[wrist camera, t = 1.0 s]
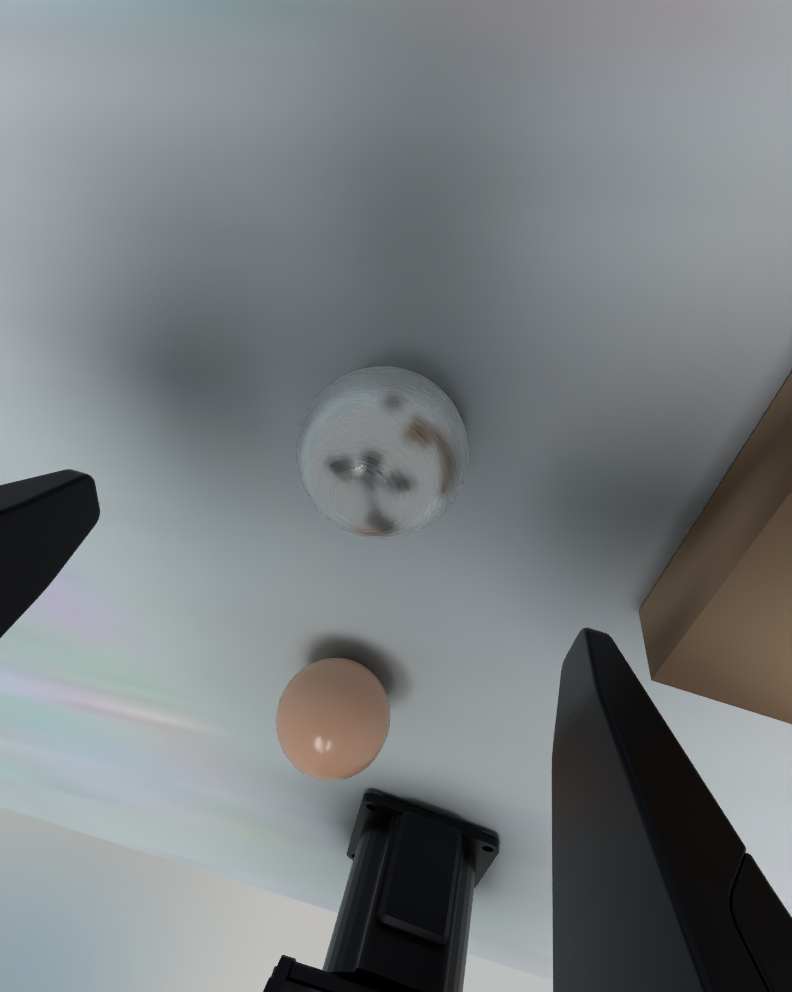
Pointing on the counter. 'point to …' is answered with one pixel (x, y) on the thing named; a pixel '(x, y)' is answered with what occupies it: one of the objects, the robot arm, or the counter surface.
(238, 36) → the counter surface
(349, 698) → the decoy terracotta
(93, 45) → the counter surface
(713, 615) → the brown recessed board
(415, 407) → the steel ball
